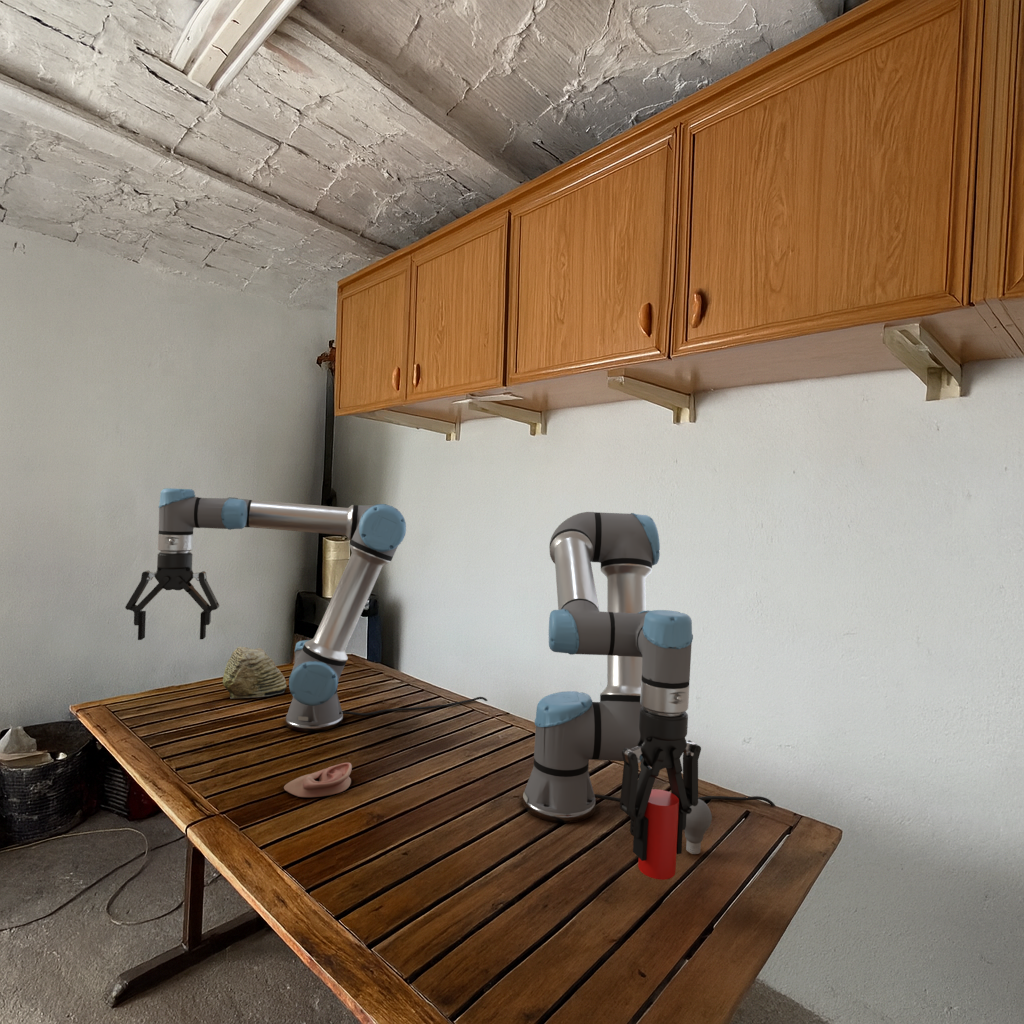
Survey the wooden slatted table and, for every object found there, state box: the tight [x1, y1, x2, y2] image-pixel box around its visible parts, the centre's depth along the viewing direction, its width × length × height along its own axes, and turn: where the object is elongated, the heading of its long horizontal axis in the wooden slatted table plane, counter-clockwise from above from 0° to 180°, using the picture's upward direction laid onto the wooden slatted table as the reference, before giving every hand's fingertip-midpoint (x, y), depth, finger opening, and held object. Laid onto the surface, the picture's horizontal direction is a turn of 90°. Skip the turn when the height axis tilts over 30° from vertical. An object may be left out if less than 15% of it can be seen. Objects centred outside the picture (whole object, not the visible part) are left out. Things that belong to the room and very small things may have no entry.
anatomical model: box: [283, 762, 353, 798], centre depth 138 cm, size 13×4×12 cm
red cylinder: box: [637, 788, 679, 881], centre depth 101 cm, size 6×6×12 cm
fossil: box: [222, 646, 288, 699], centre depth 198 cm, size 9×18×15 cm, turn 132°
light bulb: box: [683, 799, 713, 855], centre depth 118 cm, size 6×6×10 cm
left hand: (172, 638), depth 155 cm, fingers open, 13 cm apart
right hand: (657, 852), depth 101 cm, fingers closed on red cylinder, 6 cm apart
